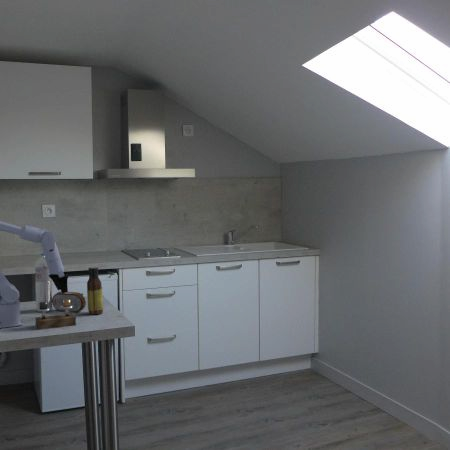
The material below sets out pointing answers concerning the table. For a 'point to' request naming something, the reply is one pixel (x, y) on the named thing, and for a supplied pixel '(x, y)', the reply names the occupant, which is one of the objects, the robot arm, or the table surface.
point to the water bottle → (43, 283)
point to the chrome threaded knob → (43, 308)
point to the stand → (55, 321)
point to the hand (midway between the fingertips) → (62, 290)
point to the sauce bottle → (94, 292)
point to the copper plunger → (66, 306)
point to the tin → (75, 298)
